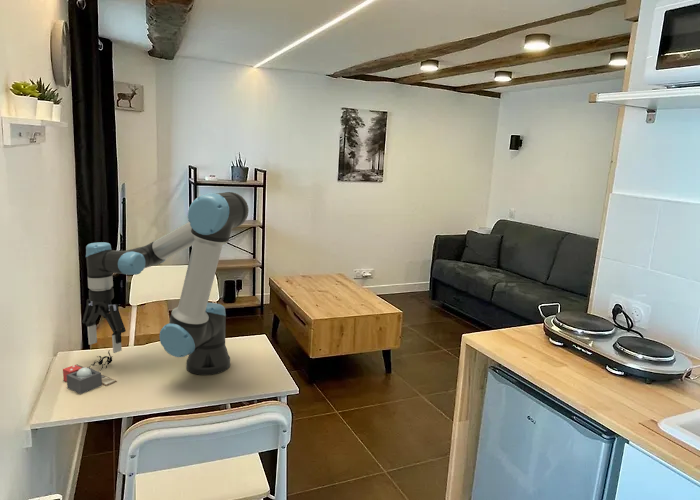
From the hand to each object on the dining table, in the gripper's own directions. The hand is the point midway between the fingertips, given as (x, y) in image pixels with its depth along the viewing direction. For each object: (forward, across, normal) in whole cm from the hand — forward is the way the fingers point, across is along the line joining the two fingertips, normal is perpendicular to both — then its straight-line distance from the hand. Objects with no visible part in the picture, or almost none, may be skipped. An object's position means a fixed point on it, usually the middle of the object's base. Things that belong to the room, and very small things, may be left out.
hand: (104, 347), depth 168 cm
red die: (+7, -1, +12) cm, 14 cm away
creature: (+7, +1, +2) cm, 8 cm away
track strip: (+7, -2, +7) cm, 10 cm away
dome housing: (+7, -8, +13) cm, 17 cm away
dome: (+5, -8, +13) cm, 16 cm away
